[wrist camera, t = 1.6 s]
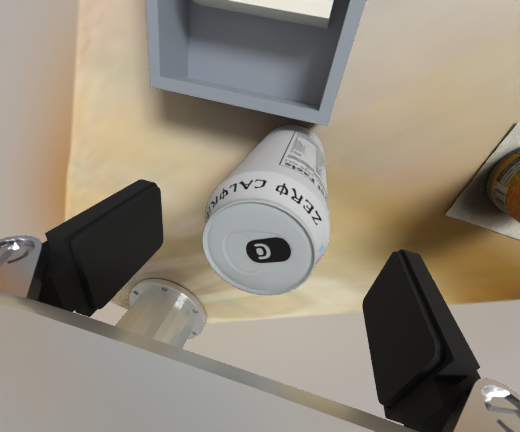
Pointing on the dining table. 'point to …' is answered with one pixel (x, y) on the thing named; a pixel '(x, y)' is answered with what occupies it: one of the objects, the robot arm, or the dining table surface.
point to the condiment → (494, 191)
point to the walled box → (254, 52)
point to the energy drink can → (270, 215)
